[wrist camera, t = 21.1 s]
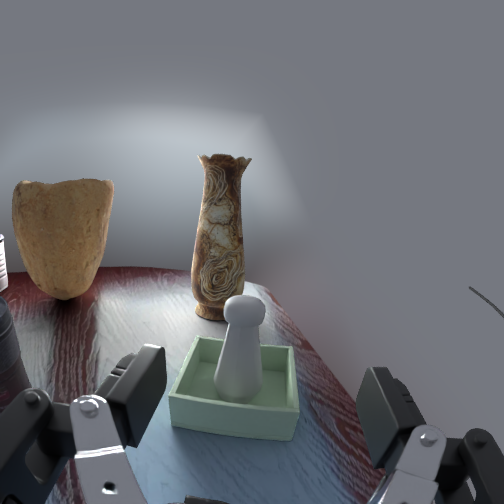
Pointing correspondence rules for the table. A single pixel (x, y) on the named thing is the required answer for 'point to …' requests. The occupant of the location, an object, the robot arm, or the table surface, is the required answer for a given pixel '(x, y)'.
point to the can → (2, 266)
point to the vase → (219, 237)
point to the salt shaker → (240, 351)
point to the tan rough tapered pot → (62, 232)
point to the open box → (232, 414)
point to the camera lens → (10, 360)
